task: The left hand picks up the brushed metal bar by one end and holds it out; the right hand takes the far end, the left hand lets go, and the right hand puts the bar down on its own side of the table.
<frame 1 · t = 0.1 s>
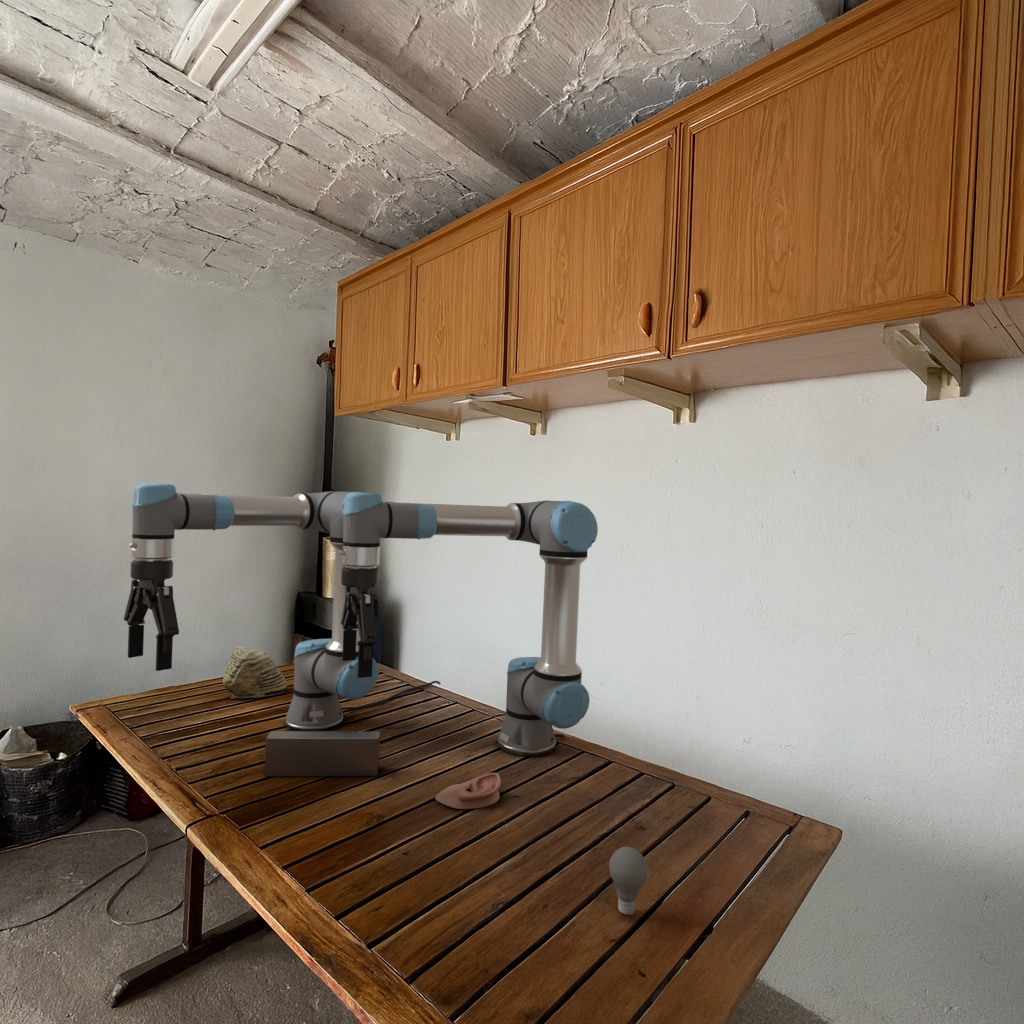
left hand: (149, 663, 129), 28 cm above the table, tool pointing down, fingers open, 13 cm apart
right hand: (356, 668, 132), 28 cm above the table, tool pointing down, fingers open, 13 cm apart
light bulb: (626, 913, 100), on the table
anatomical model: (468, 798, 136), on the table
bar: (323, 771, 146), on the table
fossil: (254, 694, 198), on the table
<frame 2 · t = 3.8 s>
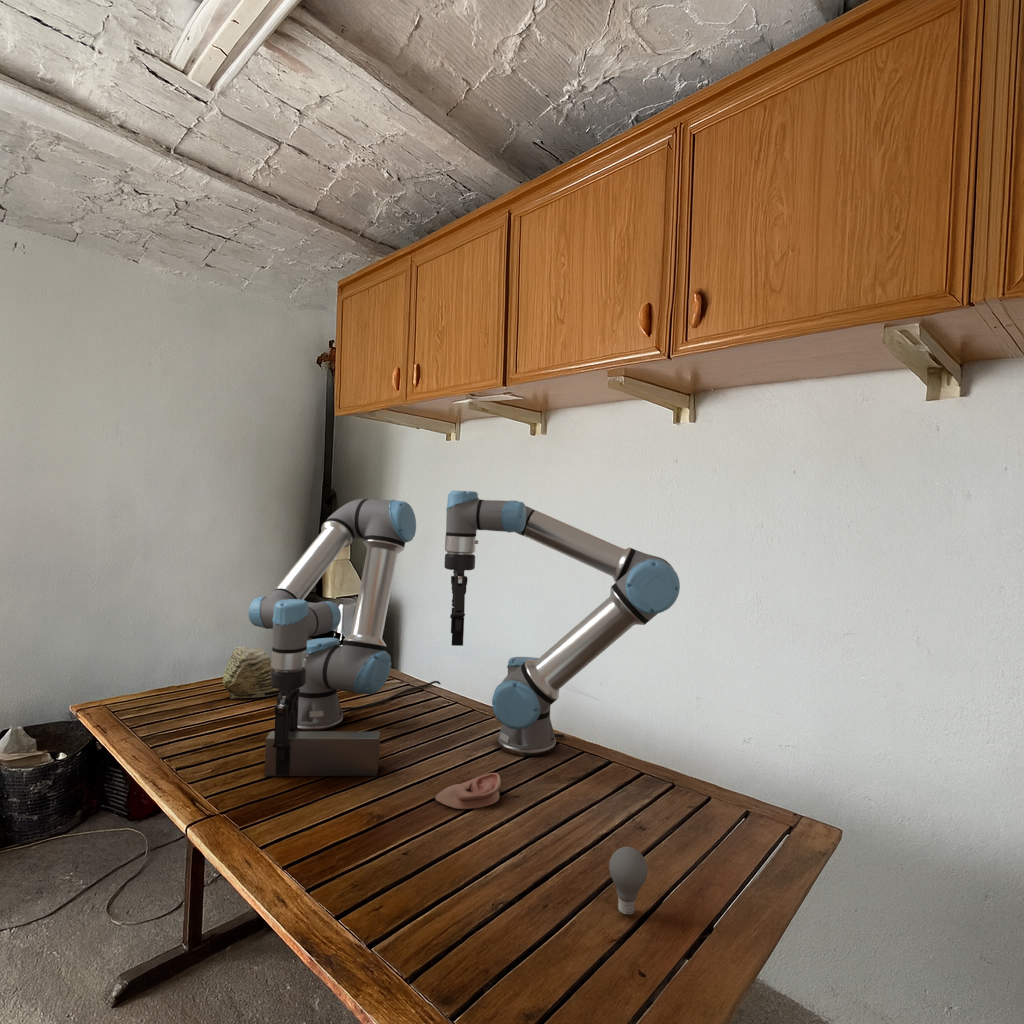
left hand: (285, 769, 145), 1 cm above the table, tool pointing down, fingers closed on bar, 4 cm apart
right hand: (456, 639, 157), 30 cm above the table, tool pointing down, fingers open, 13 cm apart
bar: (323, 771, 146), on the table, touching left hand
everything else where it was.
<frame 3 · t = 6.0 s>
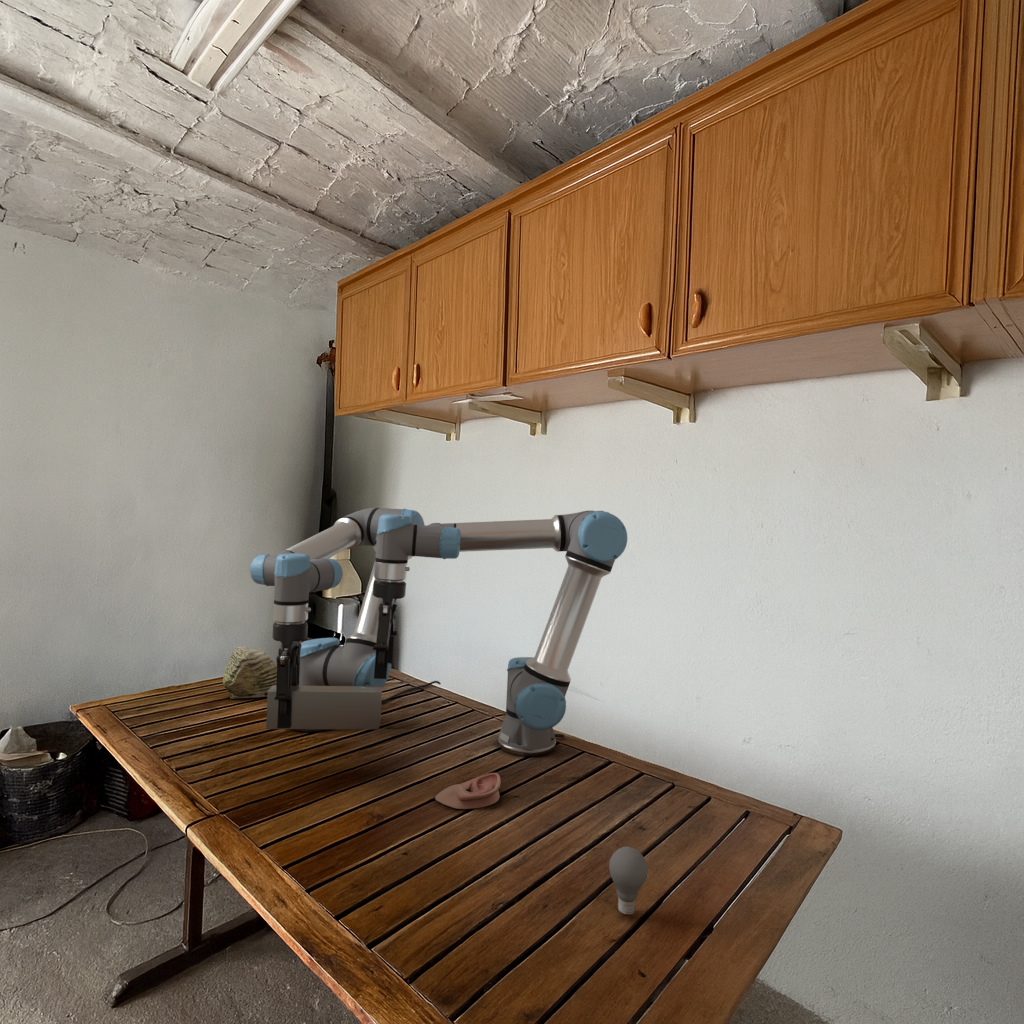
left hand: (286, 723, 145), 11 cm above the table, tool pointing down, fingers closed on bar, 4 cm apart
right hand: (383, 670, 149), 23 cm above the table, tool pointing down, fingers open, 13 cm apart
bar: (324, 725, 146), point 11 cm above the table, touching left hand
everything else where it was.
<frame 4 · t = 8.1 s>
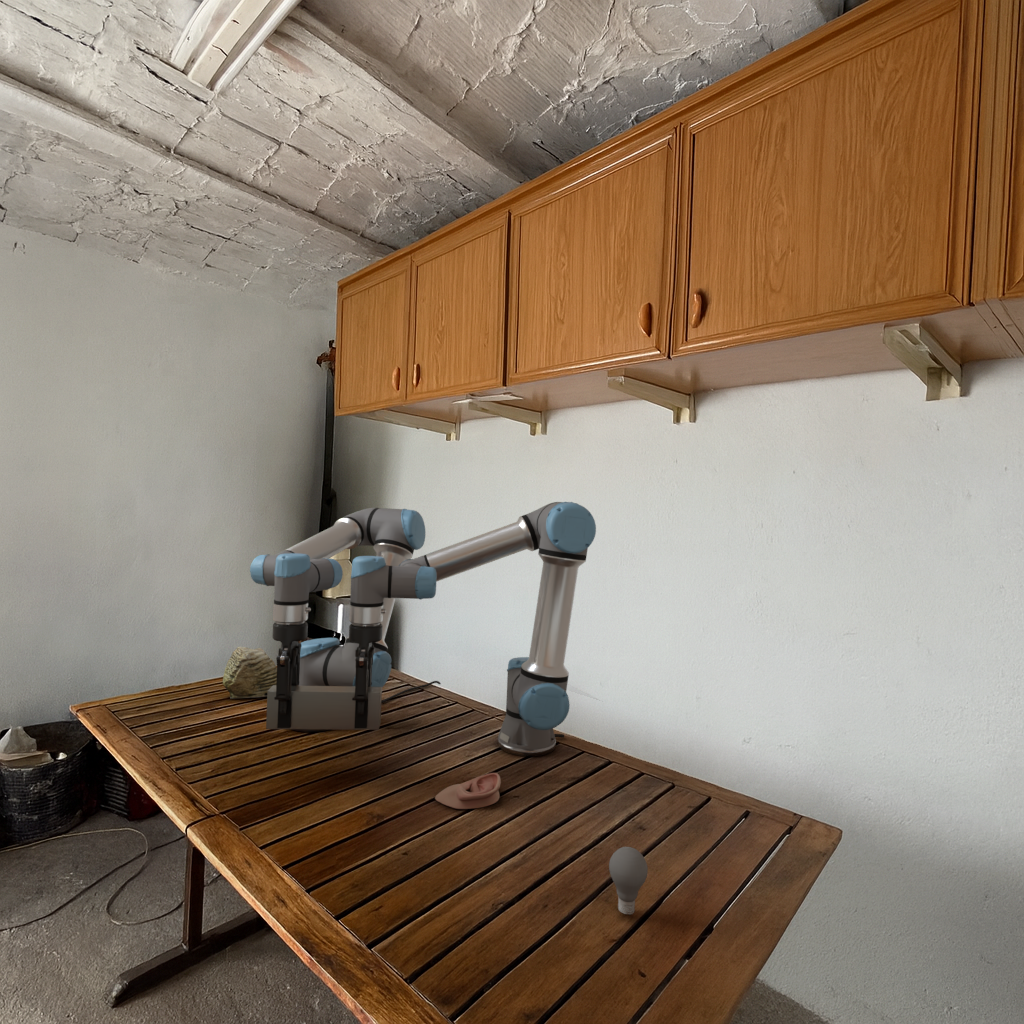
left hand: (286, 723, 145), 11 cm above the table, tool pointing down, fingers closed on bar, 4 cm apart
right hand: (362, 723, 146), 11 cm above the table, tool pointing down, fingers closed on bar, 4 cm apart
bar: (324, 726, 145), point 11 cm above the table, touching left hand, right hand
everything else where it was.
when the left hand's fingers open (11 cm above the table, at t = 8.7 s): bar stays where it is, held by the right hand.
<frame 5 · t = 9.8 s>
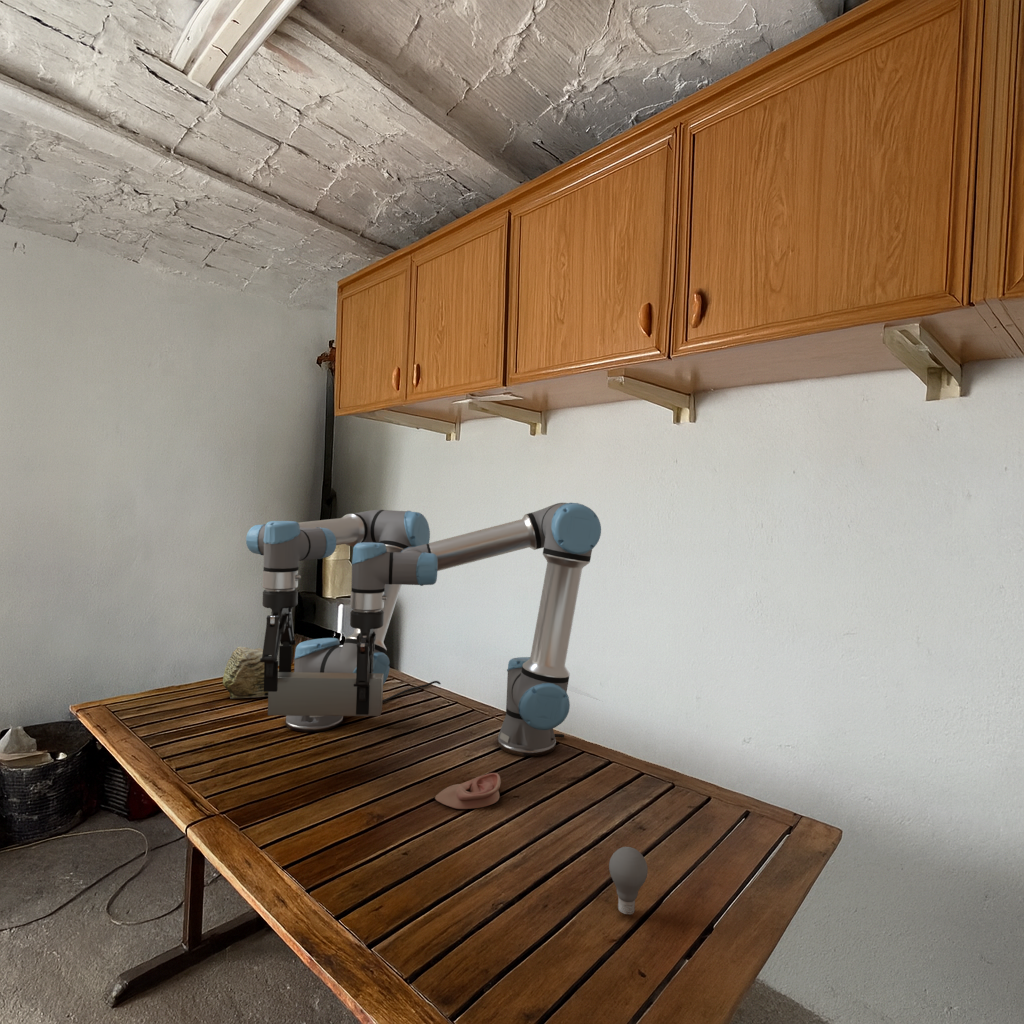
left hand: (278, 681, 144), 21 cm above the table, tool pointing down, fingers open, 13 cm apart
right hand: (363, 710, 146), 14 cm above the table, tool pointing down, fingers closed on bar, 4 cm apart
bar: (326, 712, 145), point 14 cm above the table, touching right hand
everything else where it was.
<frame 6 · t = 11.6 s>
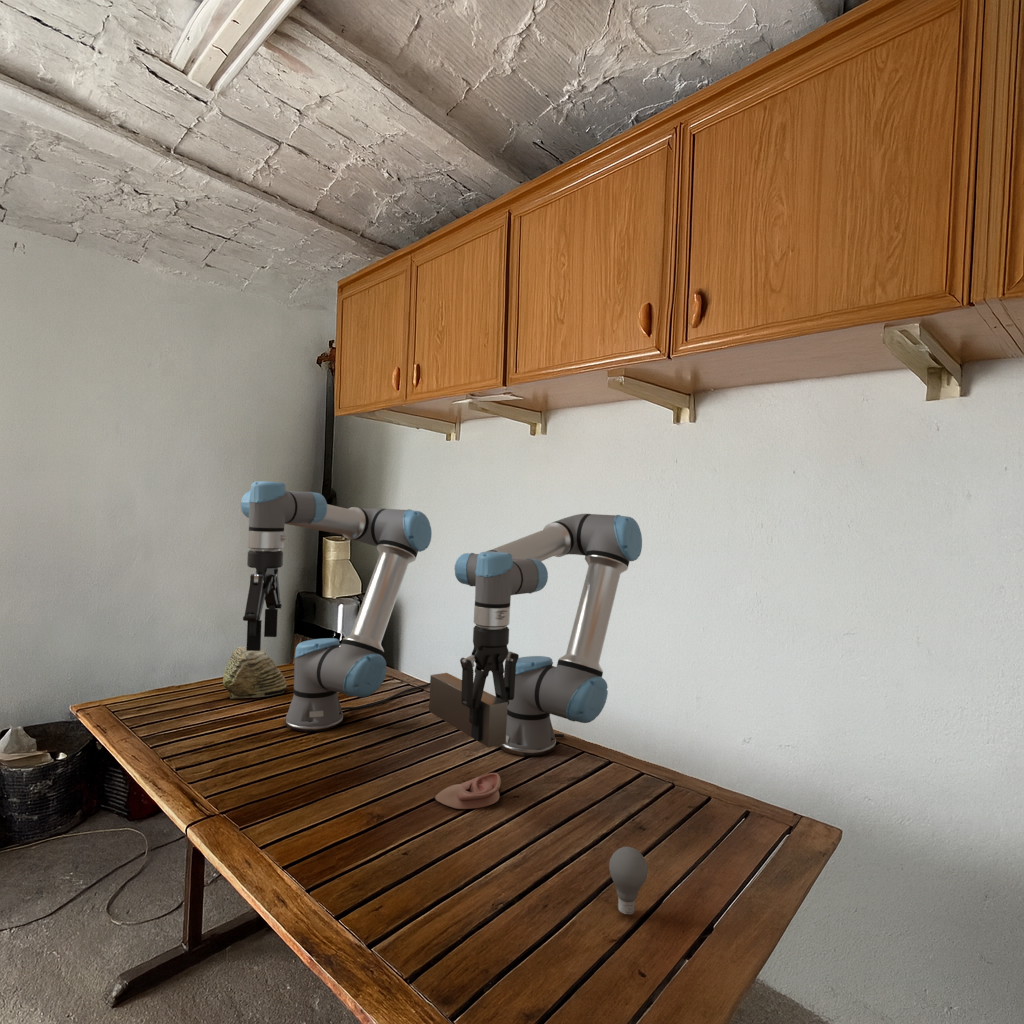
left hand: (262, 643, 143), 29 cm above the table, tool pointing down, fingers open, 13 cm apart
right hand: (486, 736, 133), 15 cm above the table, tool pointing down, fingers closed on bar, 4 cm apart
bar: (464, 726, 140), point 14 cm above the table, touching right hand
everything else where it was.
when the right hand's fingers open (3 cm above the table, at t = 15.0 s): bar drops 2 cm, on the table.
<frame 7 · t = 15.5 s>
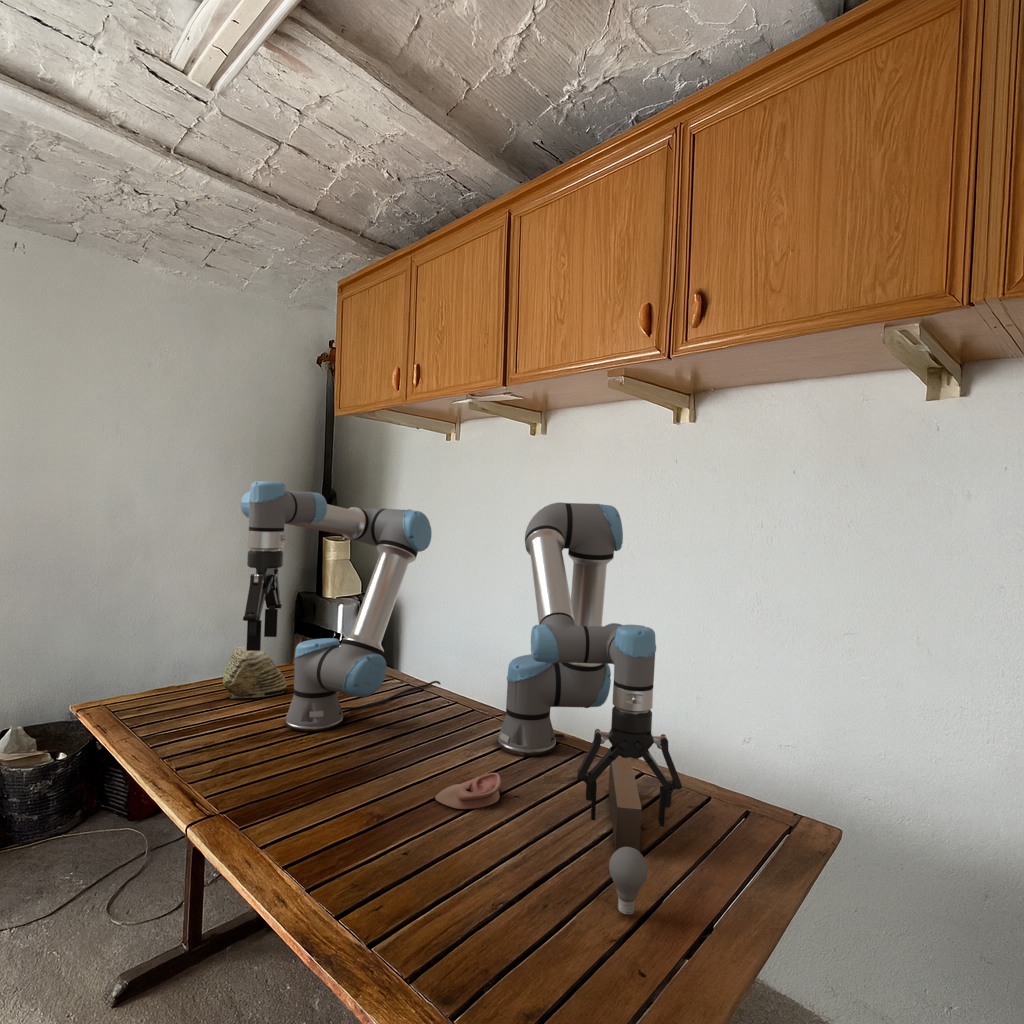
left hand: (262, 643, 143), 29 cm above the table, tool pointing down, fingers open, 13 cm apart
right hand: (626, 820, 121), 4 cm above the table, tool pointing down, fingers open, 12 cm apart
bar: (622, 820, 129), on the table
everything else where it was.
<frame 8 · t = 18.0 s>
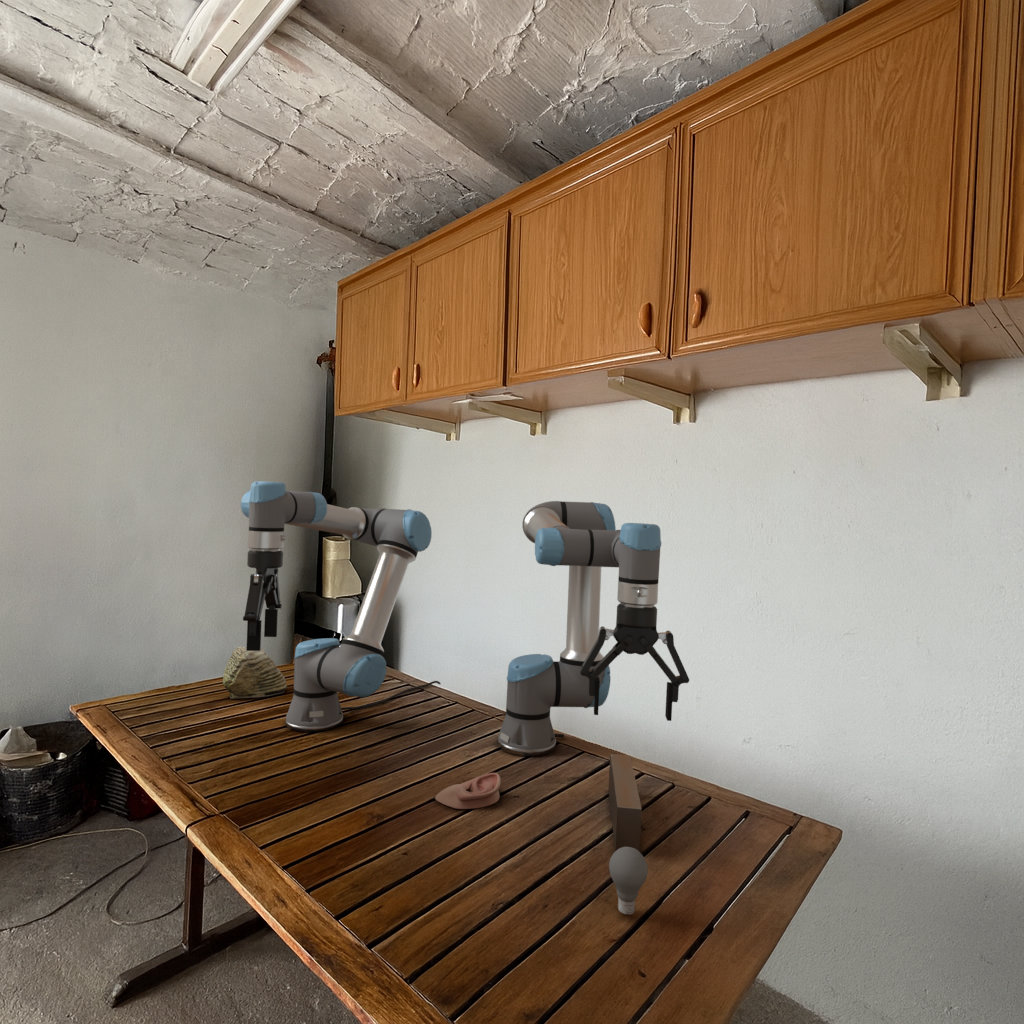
left hand: (262, 643, 143), 29 cm above the table, tool pointing down, fingers open, 13 cm apart
right hand: (631, 715, 121), 24 cm above the table, tool pointing down, fingers open, 13 cm apart
nothing on the table moved.
at the end: bar inside the target area (8.4 cm from its centre), on the table; the left hand is holding nothing; the right hand is holding nothing; bar at rest at the end (0.0 cm/s) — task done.
